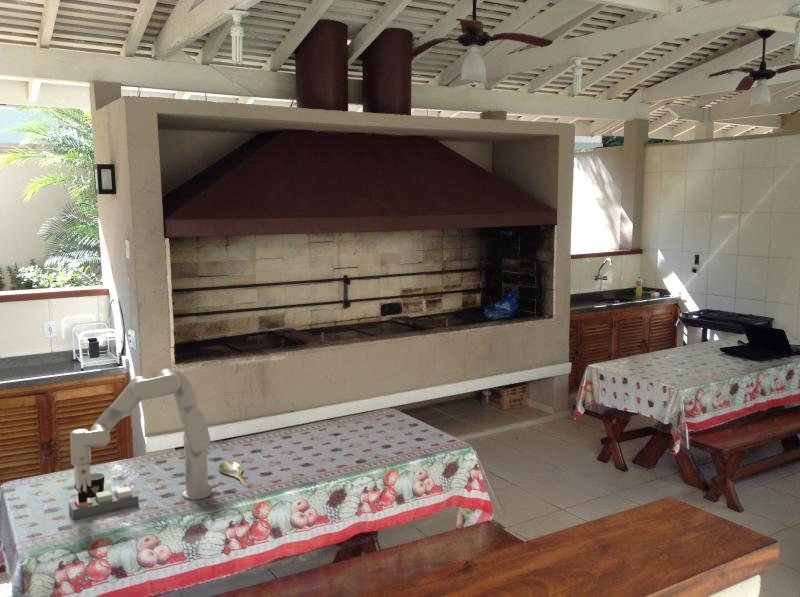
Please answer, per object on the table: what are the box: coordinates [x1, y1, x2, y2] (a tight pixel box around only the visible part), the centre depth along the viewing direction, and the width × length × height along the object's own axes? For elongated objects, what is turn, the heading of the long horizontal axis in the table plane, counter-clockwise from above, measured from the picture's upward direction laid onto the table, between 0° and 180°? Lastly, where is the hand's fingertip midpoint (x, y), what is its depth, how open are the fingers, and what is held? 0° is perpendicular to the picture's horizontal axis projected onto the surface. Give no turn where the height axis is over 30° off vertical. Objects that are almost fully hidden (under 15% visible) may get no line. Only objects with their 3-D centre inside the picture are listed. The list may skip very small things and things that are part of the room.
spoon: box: [218, 460, 249, 486], centre depth 342 cm, size 35×11×2 cm, turn 32°
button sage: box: [96, 490, 112, 503], centre depth 303 cm, size 5×5×4 cm
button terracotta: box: [75, 498, 92, 508], centre depth 299 cm, size 5×5×4 cm
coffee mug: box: [74, 472, 105, 498], centre depth 315 cm, size 12×9×10 cm
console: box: [68, 488, 140, 521], centre depth 304 cm, size 26×9×4 cm, turn 124°
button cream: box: [114, 486, 132, 499], centre depth 308 cm, size 5×5×4 cm
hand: (82, 501), depth 299 cm, fingers closed
